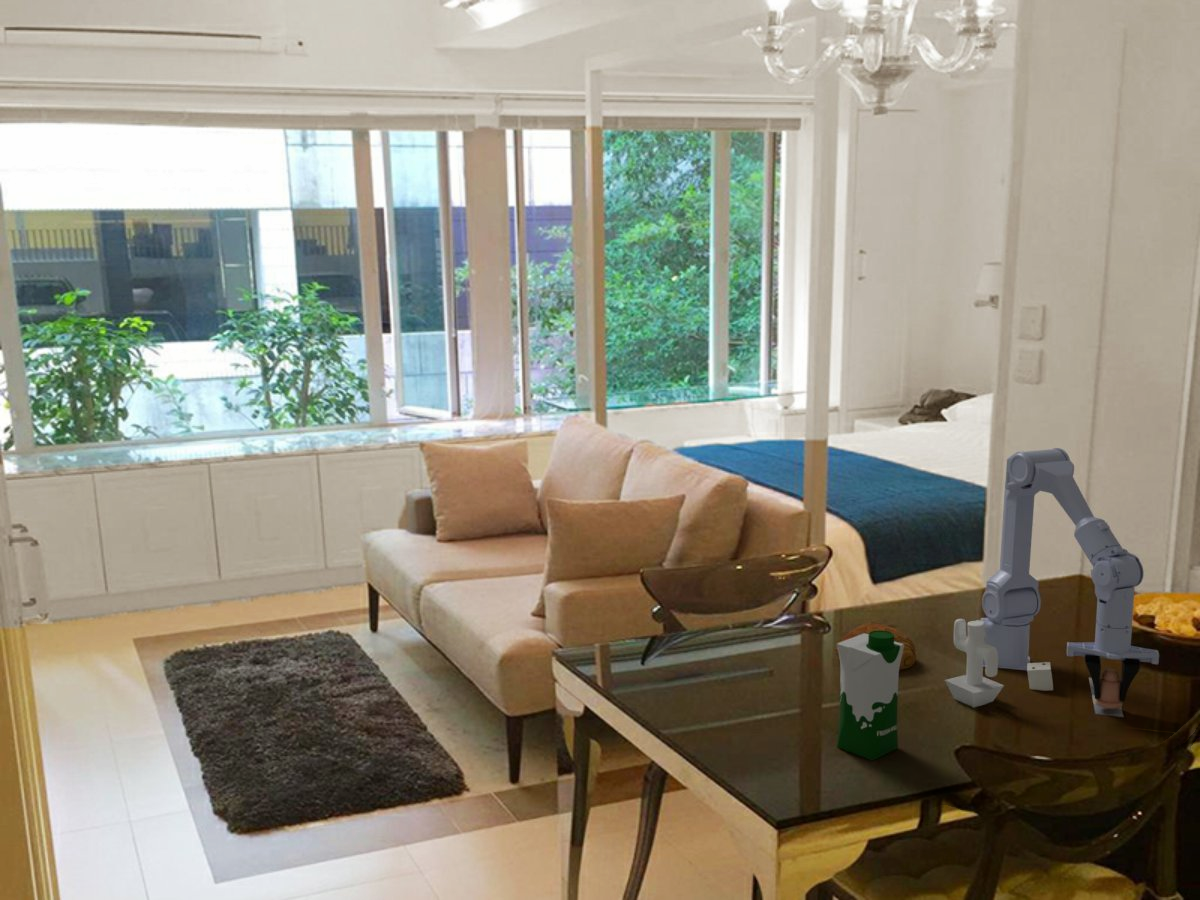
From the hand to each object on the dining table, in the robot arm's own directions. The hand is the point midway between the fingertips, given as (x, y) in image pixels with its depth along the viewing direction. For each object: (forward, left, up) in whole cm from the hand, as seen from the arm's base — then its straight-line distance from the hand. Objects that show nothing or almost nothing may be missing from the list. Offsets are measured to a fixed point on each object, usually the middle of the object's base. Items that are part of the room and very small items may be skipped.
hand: (1109, 698), depth 205 cm
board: (-4, +7, -3) cm, 8 cm away
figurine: (-23, -1, -3) cm, 23 cm away
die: (-9, +9, 0) cm, 13 cm away
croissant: (-42, +15, -3) cm, 45 cm away
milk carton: (-39, -26, -3) cm, 47 cm away
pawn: (0, 0, -1) cm, 1 cm away
